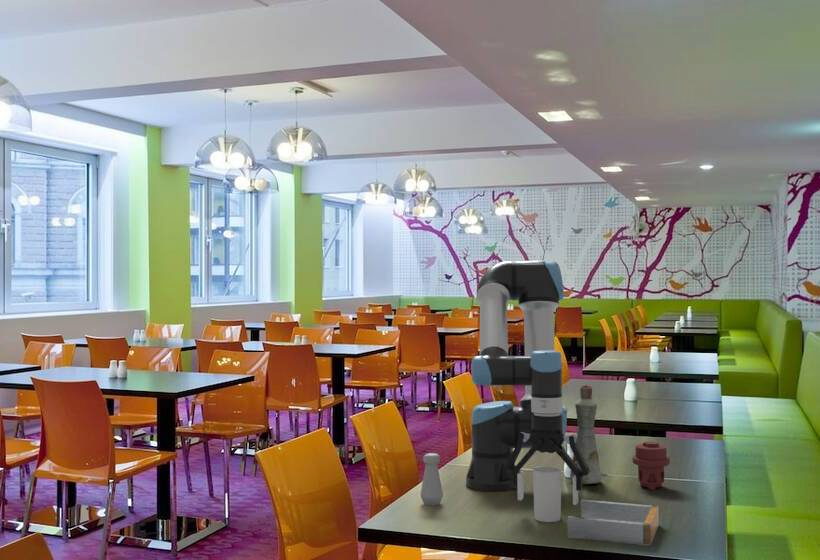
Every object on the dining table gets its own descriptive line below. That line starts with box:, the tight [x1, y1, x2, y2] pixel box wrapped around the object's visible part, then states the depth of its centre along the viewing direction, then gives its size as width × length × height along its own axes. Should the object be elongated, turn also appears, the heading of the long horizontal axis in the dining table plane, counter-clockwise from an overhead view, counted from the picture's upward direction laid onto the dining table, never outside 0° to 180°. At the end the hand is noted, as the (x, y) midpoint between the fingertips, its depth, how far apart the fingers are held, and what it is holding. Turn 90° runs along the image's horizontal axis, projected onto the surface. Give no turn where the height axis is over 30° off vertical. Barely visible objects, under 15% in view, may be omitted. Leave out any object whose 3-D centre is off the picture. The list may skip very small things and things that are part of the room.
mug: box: [532, 466, 562, 523], centre depth 211 cm, size 10×7×12 cm, turn 168°
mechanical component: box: [632, 440, 671, 491], centre depth 240 cm, size 12×10×10 cm
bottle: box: [569, 384, 602, 486], centre depth 246 cm, size 9×9×28 cm
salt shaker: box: [420, 452, 444, 507], centre depth 224 cm, size 6×6×13 cm
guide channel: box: [567, 499, 660, 547], centre depth 198 cm, size 18×17×4 cm
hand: (547, 501), depth 210 cm, fingers open, 13 cm apart
